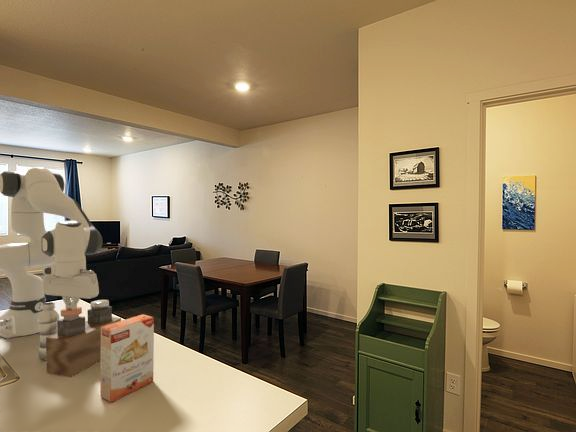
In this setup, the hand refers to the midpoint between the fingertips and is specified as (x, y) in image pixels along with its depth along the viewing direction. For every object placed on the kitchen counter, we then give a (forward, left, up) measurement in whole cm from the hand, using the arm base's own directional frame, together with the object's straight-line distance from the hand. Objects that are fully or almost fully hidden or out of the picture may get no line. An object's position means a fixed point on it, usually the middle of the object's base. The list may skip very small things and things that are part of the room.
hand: (71, 309), depth 112 cm
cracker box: (+28, -6, -20) cm, 35 cm away
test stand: (0, +6, -20) cm, 21 cm away
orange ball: (0, 0, -6) cm, 6 cm away
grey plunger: (0, +12, -7) cm, 14 cm away
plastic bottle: (-14, +4, -20) cm, 25 cm away
